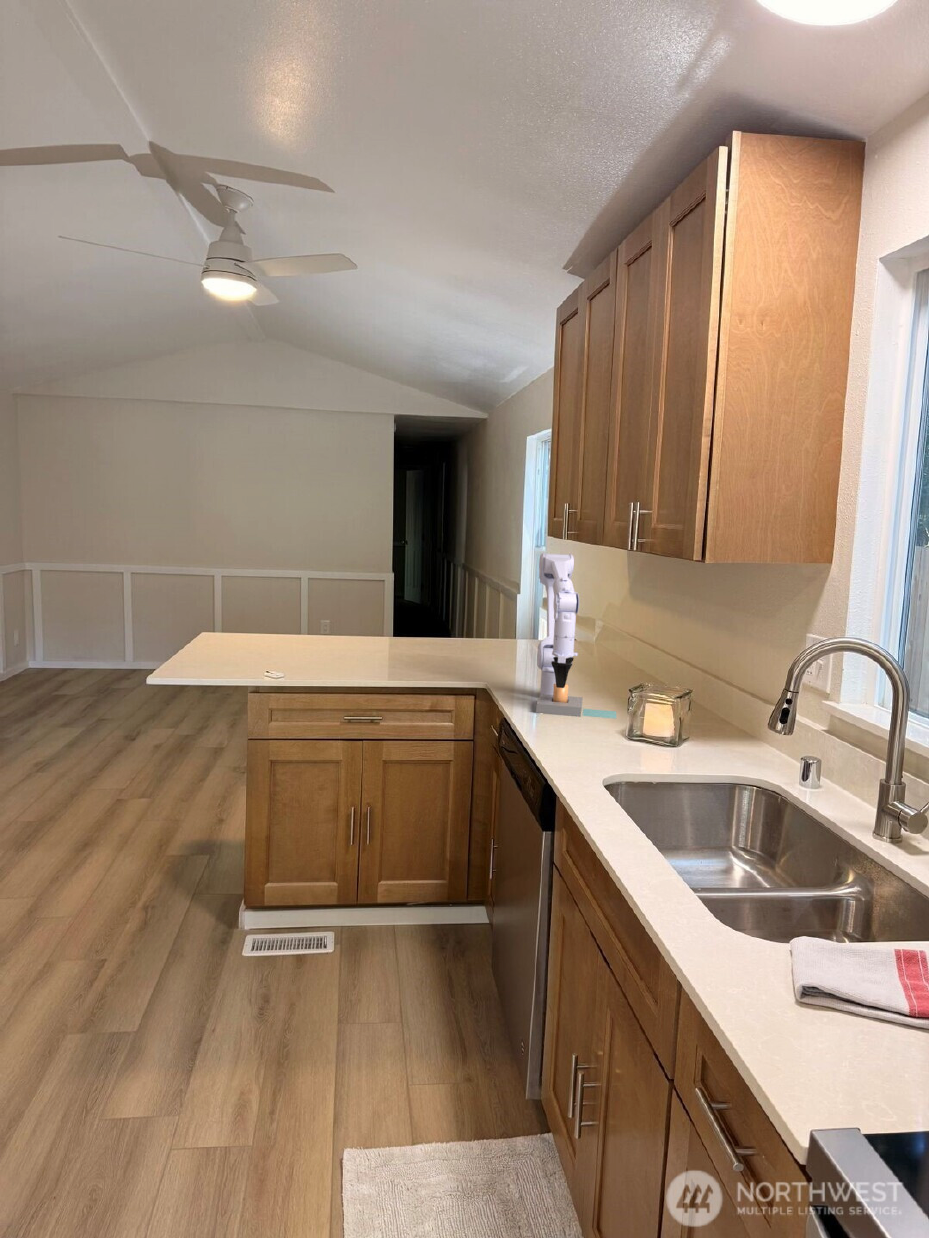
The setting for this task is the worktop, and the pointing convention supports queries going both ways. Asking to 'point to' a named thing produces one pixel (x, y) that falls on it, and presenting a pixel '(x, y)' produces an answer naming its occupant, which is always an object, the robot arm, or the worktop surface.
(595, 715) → the mat
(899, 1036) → the worktop surface
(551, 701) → the block
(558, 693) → the plug
